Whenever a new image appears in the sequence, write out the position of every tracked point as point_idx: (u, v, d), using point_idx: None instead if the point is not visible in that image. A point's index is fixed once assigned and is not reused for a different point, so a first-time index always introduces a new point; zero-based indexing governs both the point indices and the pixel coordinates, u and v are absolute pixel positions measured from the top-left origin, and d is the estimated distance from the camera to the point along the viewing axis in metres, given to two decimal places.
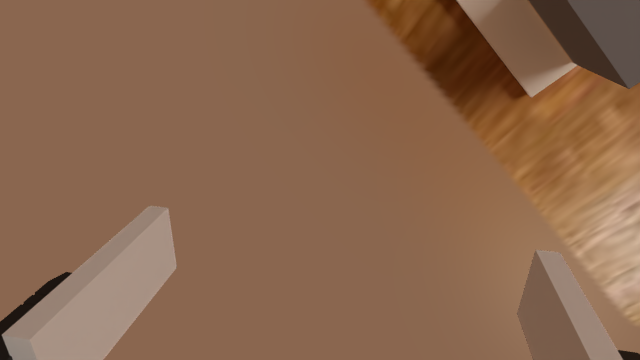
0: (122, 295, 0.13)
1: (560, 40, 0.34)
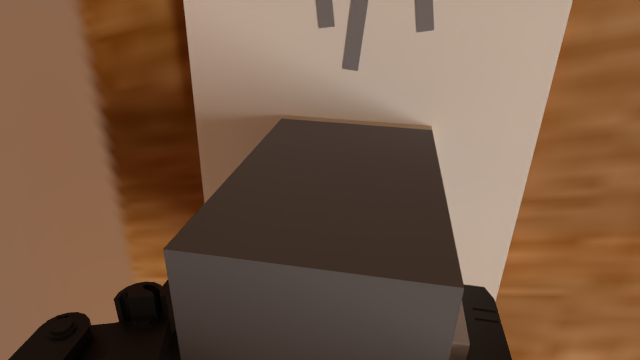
0: None
1: None
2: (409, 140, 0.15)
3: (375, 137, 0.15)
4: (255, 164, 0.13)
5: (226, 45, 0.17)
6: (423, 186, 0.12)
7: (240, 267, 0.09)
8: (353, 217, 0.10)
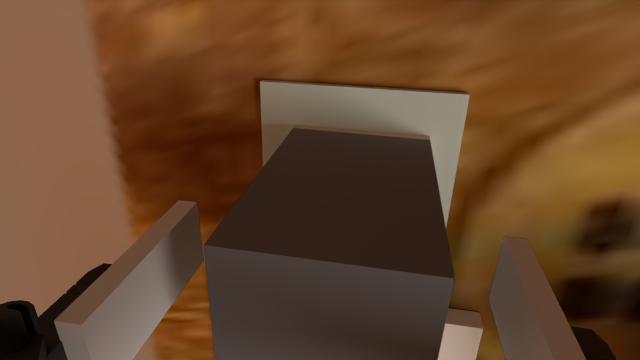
0: (158, 286, 0.14)
1: None
2: (409, 149, 0.17)
3: (379, 146, 0.17)
4: (273, 171, 0.15)
5: None
6: (422, 192, 0.13)
7: (268, 260, 0.10)
8: (362, 219, 0.12)
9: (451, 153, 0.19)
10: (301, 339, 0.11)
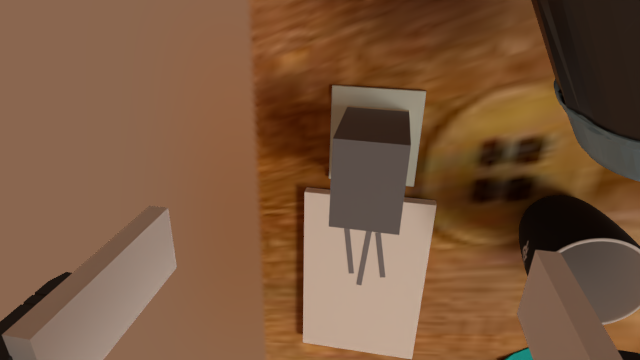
0: (122, 295, 0.13)
1: None
2: (399, 115, 0.39)
3: (386, 114, 0.40)
4: (345, 121, 0.37)
5: (317, 274, 0.50)
6: (403, 127, 0.36)
7: (353, 142, 0.33)
8: (382, 133, 0.34)
9: (419, 118, 0.41)
10: (362, 172, 0.34)
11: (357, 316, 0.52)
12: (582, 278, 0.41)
